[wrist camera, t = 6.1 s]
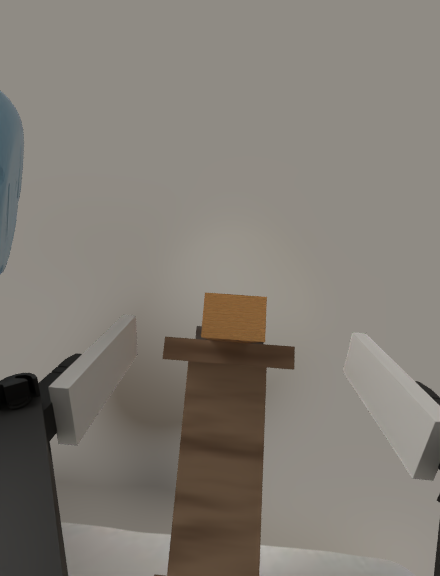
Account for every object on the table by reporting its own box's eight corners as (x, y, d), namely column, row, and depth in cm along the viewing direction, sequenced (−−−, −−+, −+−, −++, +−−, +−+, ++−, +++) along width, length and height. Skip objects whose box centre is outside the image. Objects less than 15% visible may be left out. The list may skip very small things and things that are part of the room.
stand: (303, 809, 17) (305, 334, 24) (97, 781, 17) (156, 323, 24) (268, 602, 31) (275, 338, 37) (152, 589, 31) (180, 330, 38)
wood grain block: (265, 342, 14) (266, 297, 14) (200, 337, 14) (205, 292, 15) (239, 343, 37) (240, 326, 38) (215, 341, 37) (216, 324, 38)
